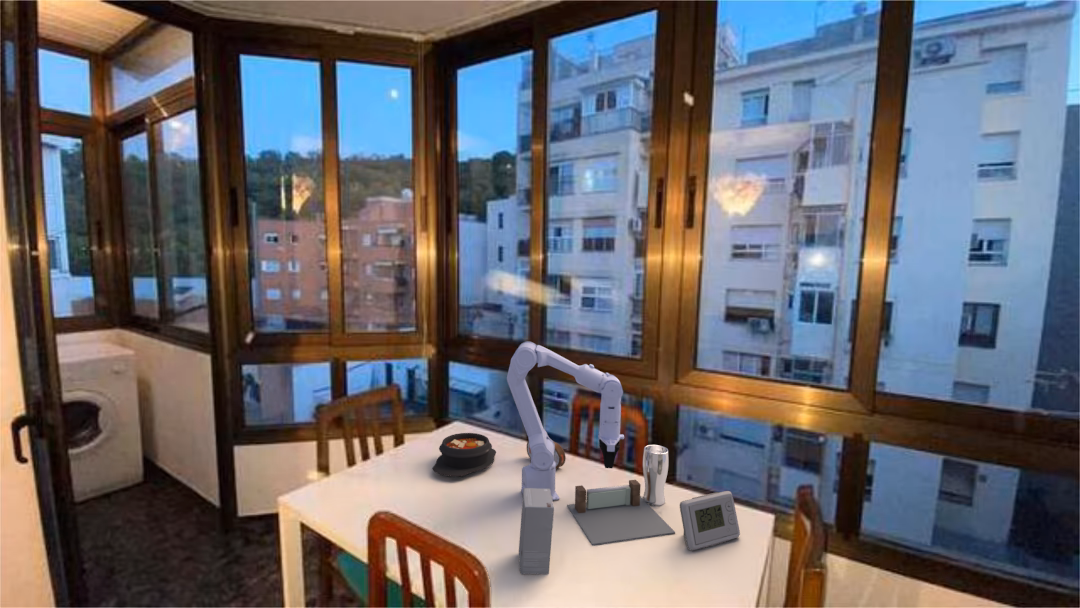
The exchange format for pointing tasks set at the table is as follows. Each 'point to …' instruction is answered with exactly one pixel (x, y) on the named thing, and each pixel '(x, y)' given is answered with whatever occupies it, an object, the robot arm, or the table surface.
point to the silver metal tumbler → (655, 473)
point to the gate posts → (581, 496)
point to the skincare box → (536, 531)
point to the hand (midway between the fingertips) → (608, 466)
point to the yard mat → (620, 523)
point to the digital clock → (709, 520)
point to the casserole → (464, 454)
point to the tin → (558, 454)
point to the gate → (608, 496)
